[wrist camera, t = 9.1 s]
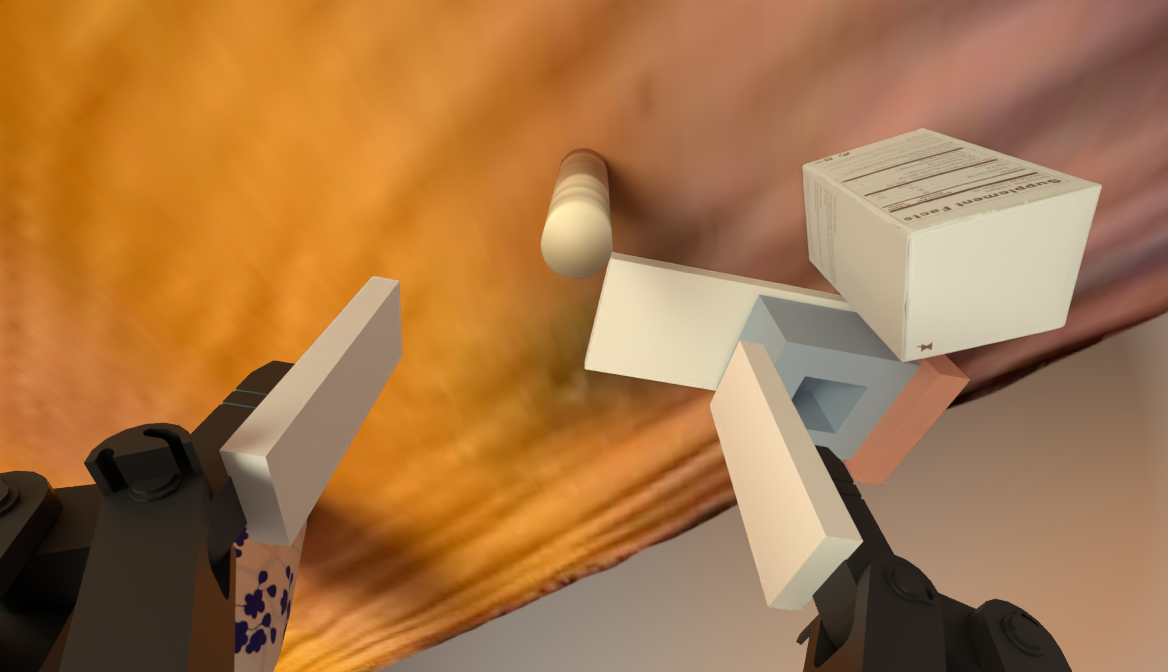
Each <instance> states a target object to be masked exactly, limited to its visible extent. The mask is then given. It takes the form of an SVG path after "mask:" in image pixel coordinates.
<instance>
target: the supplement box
mask: <svg viewBox="0 0 1168 672" xmlns="http://www.w3.org/2000/svg"><path fill="white" fill-rule="evenodd" d="M802 168H803V184H804V198H805V211H806V224H807V237H808V249H809V261H811V262H812V263H813V264H814V266H815V267H816V268H817V269H818V270H819V271H820V272H821V273H822V275H823V276H824V277H825V278H826V279H827V280H828V281H829V282H830V283H831V284H832V285H833V287H834V288H835V289H836V290H837V291H838V292H839V293H840V294H841V295H842V296H843V298H844V299H845V300H846V301H847V302H848V303H849V304H850V305H851V306H852V308H853V309H854V310H855V311H856V312H857V313H858V314H859V315H860V316H861V317H862V319H863V320H864V321H865V322H866V323H867V324H868V325H869V326H870V327H871V329H872V330H873V331H874V332H875V333H876V334H877V335H878V336H879V337H880V338H881V340H882V341H883V342H884V343H885V344H886V345H887V346H888V347H889V348H890V350H891V351H892V352H893V353H894V354H895V355H896V356H897V357H898V358H899V359H900V361H901V362H907V361H911V360H917V359H923V358H928V357H932V356H937V355H942V354H946V353H951V352H955V351H960V350H964V349H969V348H974V347H978V346H982V345H987V344H991V343H996V342H1000V341H1005V340H1009V339H1014V338H1018V337H1023V336H1027V335H1032V334H1036V333H1041V332H1045V331H1050V330H1053V329H1057V328H1061V327H1063V326H1064V325H1065V323H1066V318H1067V315H1068V311H1069V306H1070V303H1071V299H1072V295H1073V291H1074V287H1075V284H1076V280H1077V276H1078V273H1079V269H1080V265H1081V261H1082V258H1083V254H1084V250H1085V247H1086V243H1087V239H1088V235H1089V232H1090V228H1091V224H1092V221H1093V217H1094V213H1095V210H1096V206H1097V202H1098V199H1099V195H1100V192H1101V188H1102V185H1100V184H1097V183H1094V182H1091V181H1088V180H1084V179H1081V178H1078V177H1075V176H1072V175H1069V174H1066V173H1063V172H1060V171H1056V170H1053V169H1050V168H1047V167H1043V166H1040V165H1037V164H1034V163H1031V162H1028V161H1025V160H1022V159H1019V158H1015V157H1012V156H1009V155H1005V154H1002V153H999V152H996V151H993V150H990V149H987V148H984V147H981V146H978V145H975V144H971V143H968V142H966V141H962V140H959V139H956V138H953V137H950V136H947V135H944V134H941V133H937V132H934V131H931V130H928V129H924V128H921V129H918V130H915V131H912V132H908V133H905V134H901V135H898V136H895V137H891V138H888V139H885V140H881V141H878V142H875V143H872V144H868V145H865V146H862V147H859V148H855V149H852V150H849V151H846V152H842V153H839V154H835V155H832V156H829V157H826V158H823V159H820V160H816V161H813V162H810V163H807V164H804V165H803V167H802Z"/></svg>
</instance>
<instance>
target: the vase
mask: <svg viewBox="0 0 1168 672" xmlns="http://www.w3.org/2000/svg"><path fill="white" fill-rule="evenodd" d="M307 523H308V518H307V519H306V521H305V523H304V524H303V526H302V528H301V530H300V531H299V533H298V535H297V536H296V538H295V540H294V542H293V543H292V545H291V547H290V546H282V545H274V544H266V543H258V542H252V541H251V538H250V535H249V532H248V530H247V527H246V526H245V528H244V529H243V531H242V532H241V533H240V535H239V536H238V538H237V539H236V541H235V542H234V543H233V545H234V548H235V552H236V603H235V660H234V672H273V671H274V668H275V666H276V663H277V661H278V659H279V656H280V652H281V647H282V643H283V639H284V635H285V631H286V627H287V623H288V619H289V615H290V610H291V605H292V600H293V595H294V590H295V585H296V579H297V574H298V569H299V564H300V558H301V553H302V548H303V542H304V537H305V532H306V527H307Z"/></svg>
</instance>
